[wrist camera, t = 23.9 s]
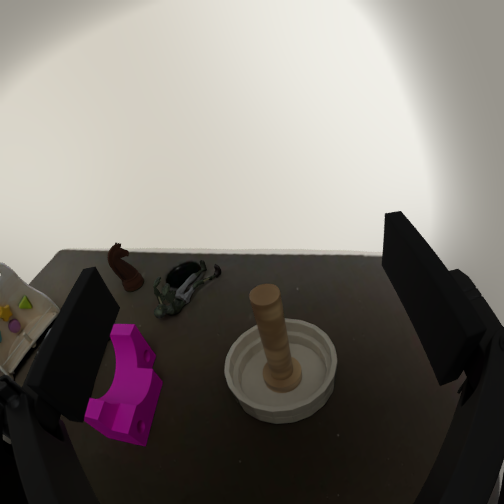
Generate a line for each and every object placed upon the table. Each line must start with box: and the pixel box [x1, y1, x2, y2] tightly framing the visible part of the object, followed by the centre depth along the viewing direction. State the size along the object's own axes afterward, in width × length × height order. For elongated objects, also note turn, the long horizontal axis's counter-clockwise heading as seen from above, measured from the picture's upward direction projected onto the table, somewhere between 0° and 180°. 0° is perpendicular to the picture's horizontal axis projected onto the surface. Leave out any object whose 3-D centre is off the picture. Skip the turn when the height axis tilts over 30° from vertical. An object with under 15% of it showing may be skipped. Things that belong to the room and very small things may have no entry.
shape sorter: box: [0, 263, 60, 380], centre depth 43 cm, size 20×10×18 cm, turn 159°
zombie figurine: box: [153, 260, 221, 318], centre depth 50 cm, size 5×7×15 cm
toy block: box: [84, 324, 163, 446], centre depth 34 cm, size 15×6×8 cm, turn 176°
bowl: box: [224, 318, 337, 424], centre depth 35 cm, size 13×13×4 cm
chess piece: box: [108, 243, 144, 292], centre depth 55 cm, size 5×5×10 cm
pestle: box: [249, 284, 302, 393], centre depth 31 cm, size 5×5×15 cm
